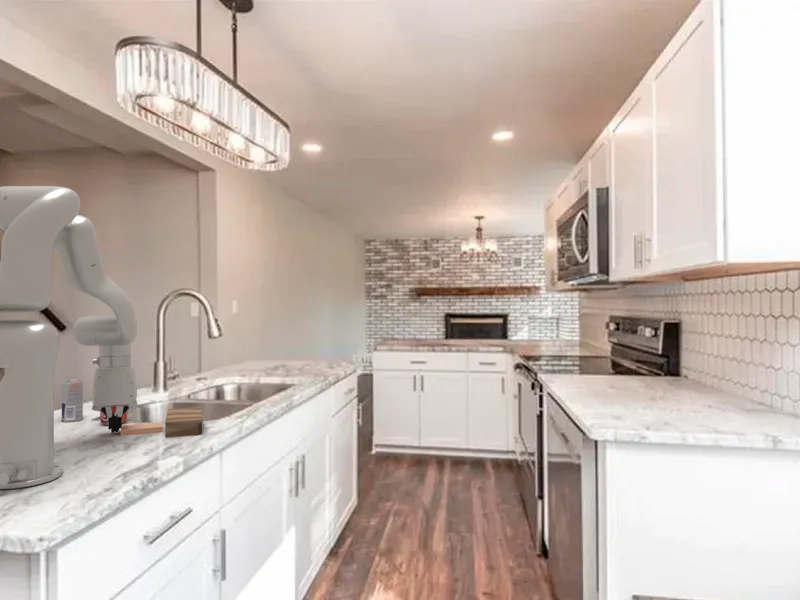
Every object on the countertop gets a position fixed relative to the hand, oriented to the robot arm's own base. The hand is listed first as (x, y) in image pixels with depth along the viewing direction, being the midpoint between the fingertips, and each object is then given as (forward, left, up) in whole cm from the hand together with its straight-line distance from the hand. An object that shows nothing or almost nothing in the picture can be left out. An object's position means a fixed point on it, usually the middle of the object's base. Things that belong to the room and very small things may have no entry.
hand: (115, 431), depth 143 cm
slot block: (0, -17, -1) cm, 17 cm away
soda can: (+14, +2, -1) cm, 14 cm away
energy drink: (+23, +14, -1) cm, 27 cm away
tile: (0, -6, -1) cm, 7 cm away
